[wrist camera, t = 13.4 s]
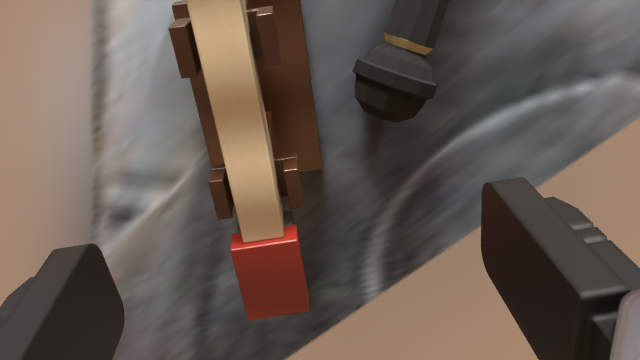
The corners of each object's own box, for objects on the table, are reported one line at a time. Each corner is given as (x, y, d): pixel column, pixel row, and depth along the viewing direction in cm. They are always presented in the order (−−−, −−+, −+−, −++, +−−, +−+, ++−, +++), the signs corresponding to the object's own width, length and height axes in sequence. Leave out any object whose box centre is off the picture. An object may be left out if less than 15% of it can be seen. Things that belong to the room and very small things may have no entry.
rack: (173, -2, 32) (132, 32, 23) (296, -19, 32) (308, 7, 23) (218, 178, 38) (200, 265, 29) (321, 163, 39) (338, 244, 29)
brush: (165, -69, 22) (149, -67, 19) (245, -80, 22) (242, -80, 19) (250, 283, 32) (247, 321, 29) (306, 274, 32) (310, 311, 29)
